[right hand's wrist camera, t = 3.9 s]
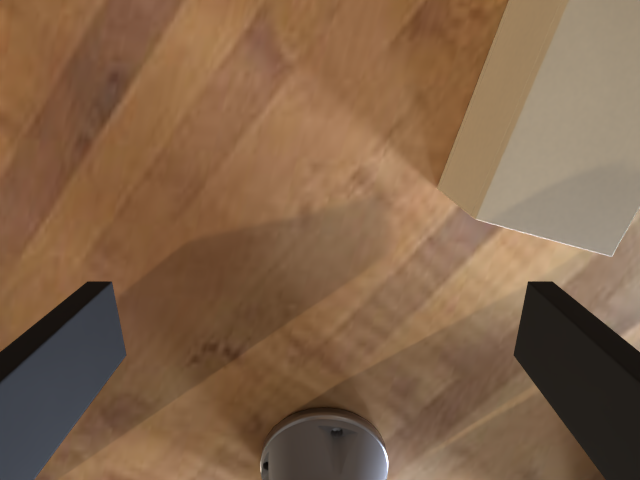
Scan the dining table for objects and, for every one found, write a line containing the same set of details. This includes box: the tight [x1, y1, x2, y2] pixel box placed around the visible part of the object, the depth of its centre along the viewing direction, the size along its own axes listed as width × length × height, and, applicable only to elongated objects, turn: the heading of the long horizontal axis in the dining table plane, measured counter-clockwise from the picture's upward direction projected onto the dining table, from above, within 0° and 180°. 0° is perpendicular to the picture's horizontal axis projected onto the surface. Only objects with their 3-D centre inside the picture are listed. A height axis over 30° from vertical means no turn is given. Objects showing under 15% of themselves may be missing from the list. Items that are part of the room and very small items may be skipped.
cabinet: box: [437, 0, 640, 257], centre depth 31 cm, size 19×11×10 cm, turn 164°
